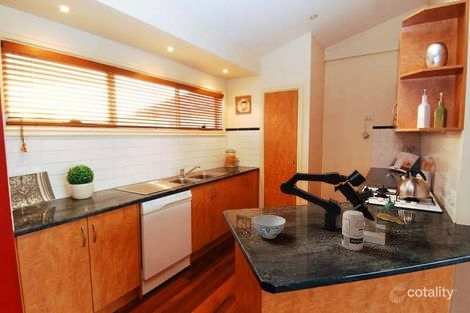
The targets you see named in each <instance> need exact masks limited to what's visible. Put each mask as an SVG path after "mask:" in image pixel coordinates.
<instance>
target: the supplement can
mask: <svg viewBox="0 0 470 313" xmlns="http://www.w3.org/2000/svg"><path fill="white" fill-rule="evenodd" d="M364 222H365V217H364V216H363V213H362V212H359V211H354V210H352V209H351V210H350V209H347V210H345V211H344V212H343V214H342V225H341V226H342V228H341V231H342V232H341V245H342V247H343V248H344V249H347V250H349V251H361V250H362V249H363V248H364V241H363V235H364Z"/></svg>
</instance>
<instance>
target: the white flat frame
mask: <svg viewBox="0 0 470 313" xmlns="http://www.w3.org/2000/svg"><path fill="white" fill-rule="evenodd" d="M363 242H367V243H373V244H377V245H383V246H385V244H386V225H385V224H378V223H376V233H375V232H369V231H365V221H364V235H363Z"/></svg>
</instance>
